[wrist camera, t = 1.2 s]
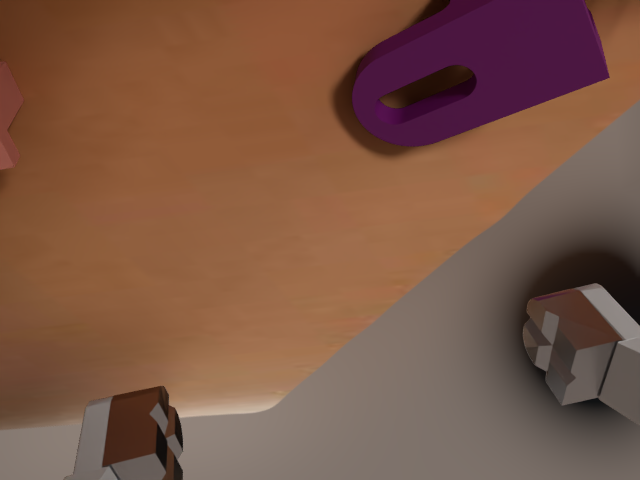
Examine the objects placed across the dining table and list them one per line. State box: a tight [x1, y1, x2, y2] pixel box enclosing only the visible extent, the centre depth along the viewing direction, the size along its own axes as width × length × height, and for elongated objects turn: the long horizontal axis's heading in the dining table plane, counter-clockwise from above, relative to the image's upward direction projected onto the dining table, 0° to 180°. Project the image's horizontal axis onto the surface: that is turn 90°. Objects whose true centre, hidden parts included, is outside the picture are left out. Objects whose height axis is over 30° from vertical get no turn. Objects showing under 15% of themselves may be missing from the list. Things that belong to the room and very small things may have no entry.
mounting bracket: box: [352, 0, 610, 146], centre depth 43 cm, size 9×8×18 cm
